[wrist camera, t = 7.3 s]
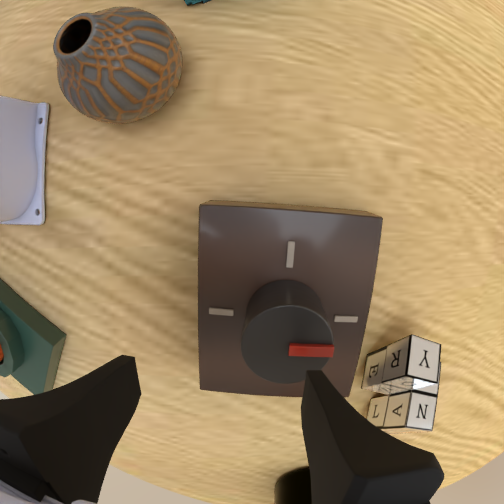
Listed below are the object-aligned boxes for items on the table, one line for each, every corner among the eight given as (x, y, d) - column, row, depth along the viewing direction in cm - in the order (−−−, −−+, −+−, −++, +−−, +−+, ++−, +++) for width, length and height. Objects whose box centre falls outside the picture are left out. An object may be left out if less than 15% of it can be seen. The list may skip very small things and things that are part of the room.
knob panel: (209, 200, 20) (198, 204, 17) (367, 211, 19) (384, 217, 16) (207, 366, 22) (199, 391, 19) (341, 373, 22) (349, 398, 19)
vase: (122, 32, 17) (57, -22, 9) (209, 46, 17) (172, -25, 9) (86, 118, 19) (1, 99, 10) (170, 141, 19) (103, 120, 10)
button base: (-24, 319, 24) (-47, 334, 20) (-18, 260, 22) (-46, 271, 18) (52, 389, 24) (32, 411, 21) (66, 334, 23) (41, 356, 19)
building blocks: (400, 375, 24) (466, 352, 17) (389, 433, 21) (458, 428, 14) (350, 361, 24) (411, 334, 17) (335, 424, 21) (399, 420, 14)
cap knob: (244, 346, 18) (237, 385, 15) (248, 276, 17) (241, 304, 14) (317, 350, 18) (326, 389, 14) (327, 281, 17) (342, 309, 13)
